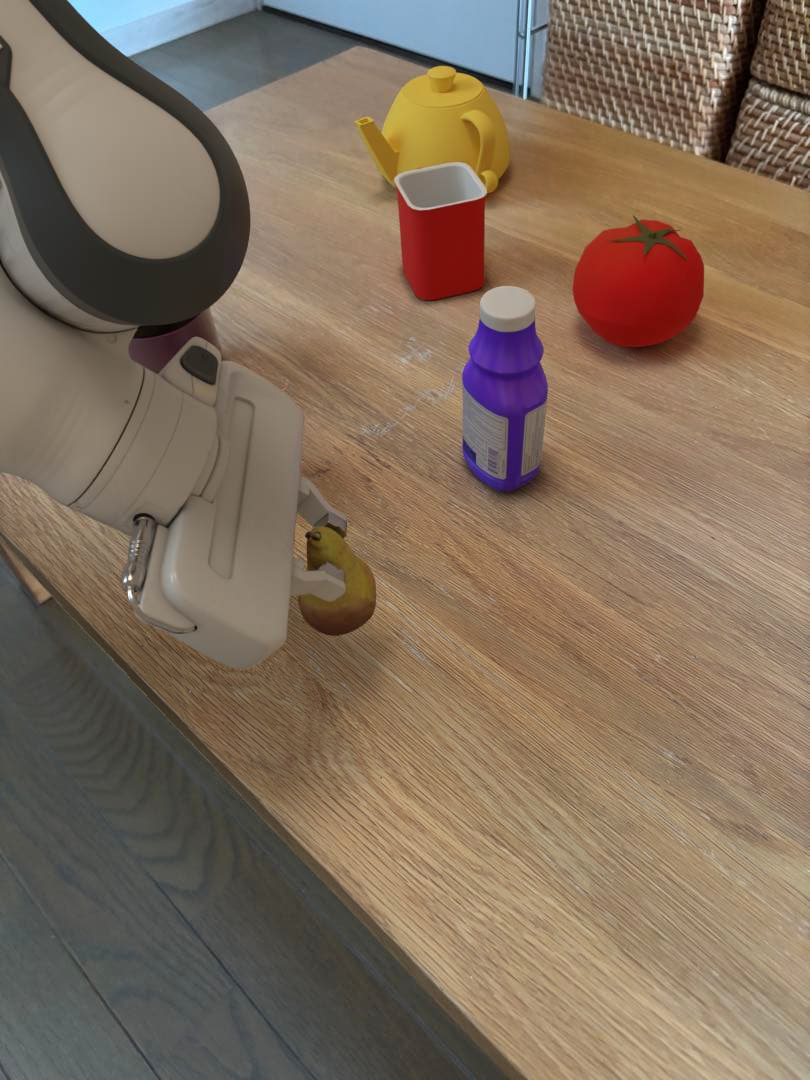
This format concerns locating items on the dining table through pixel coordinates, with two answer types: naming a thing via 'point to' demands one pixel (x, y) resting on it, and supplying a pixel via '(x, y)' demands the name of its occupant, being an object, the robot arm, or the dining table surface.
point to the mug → (442, 229)
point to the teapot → (440, 128)
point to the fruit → (358, 589)
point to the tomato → (639, 284)
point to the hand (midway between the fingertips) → (340, 559)
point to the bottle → (504, 392)
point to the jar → (173, 342)
